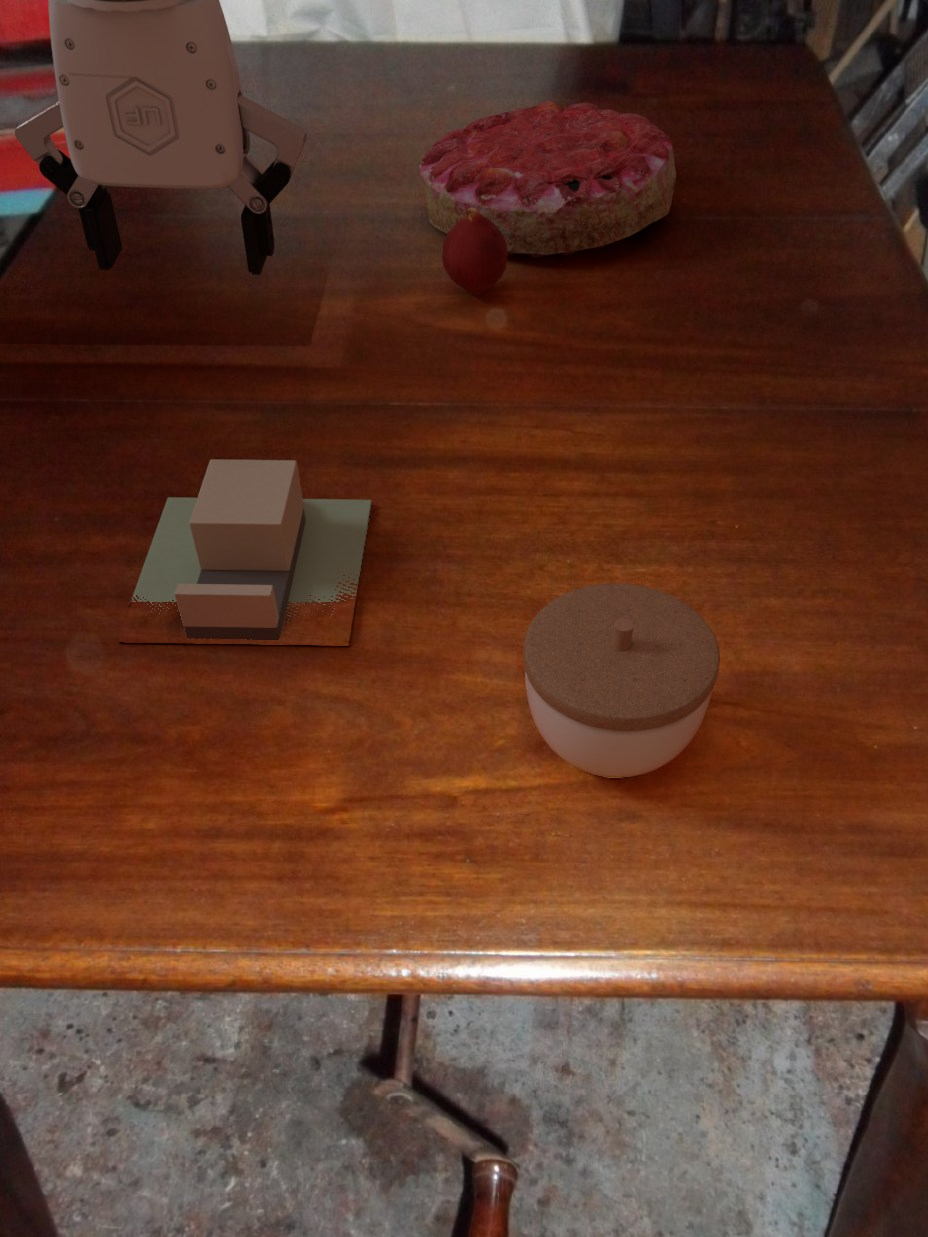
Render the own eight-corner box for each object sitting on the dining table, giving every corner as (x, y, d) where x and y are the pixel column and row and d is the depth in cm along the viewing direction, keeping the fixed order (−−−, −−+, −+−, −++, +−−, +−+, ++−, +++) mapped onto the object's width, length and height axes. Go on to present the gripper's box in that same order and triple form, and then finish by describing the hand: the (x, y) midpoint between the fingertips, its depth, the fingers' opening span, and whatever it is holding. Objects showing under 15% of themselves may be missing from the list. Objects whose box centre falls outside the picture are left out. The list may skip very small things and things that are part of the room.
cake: (721, 233, 111) (727, 146, 106) (477, 288, 106) (470, 200, 101) (614, 152, 128) (614, 74, 123) (399, 197, 123) (390, 117, 118)
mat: (118, 643, 75) (117, 639, 74) (168, 501, 85) (167, 497, 85) (349, 647, 74) (348, 642, 74) (371, 503, 84) (371, 499, 84)
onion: (476, 272, 109) (475, 187, 103) (520, 293, 106) (521, 207, 100) (431, 294, 106) (427, 207, 100) (474, 316, 103) (473, 228, 97)
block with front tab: (279, 642, 74) (267, 580, 70) (186, 640, 74) (169, 579, 70) (310, 499, 84) (302, 438, 80) (229, 497, 84) (216, 437, 81)
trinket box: (523, 811, 65) (526, 698, 58) (519, 675, 72) (521, 560, 65) (713, 810, 65) (739, 696, 58) (690, 674, 72) (710, 558, 65)
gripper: (-55, -22, 60) (35, 287, 73) (276, -13, 60) (309, 295, 72) (-7, -63, 65) (69, 232, 78) (298, -55, 65) (325, 240, 77)
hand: (185, 262), depth 75 cm, fingers open, 9 cm apart
